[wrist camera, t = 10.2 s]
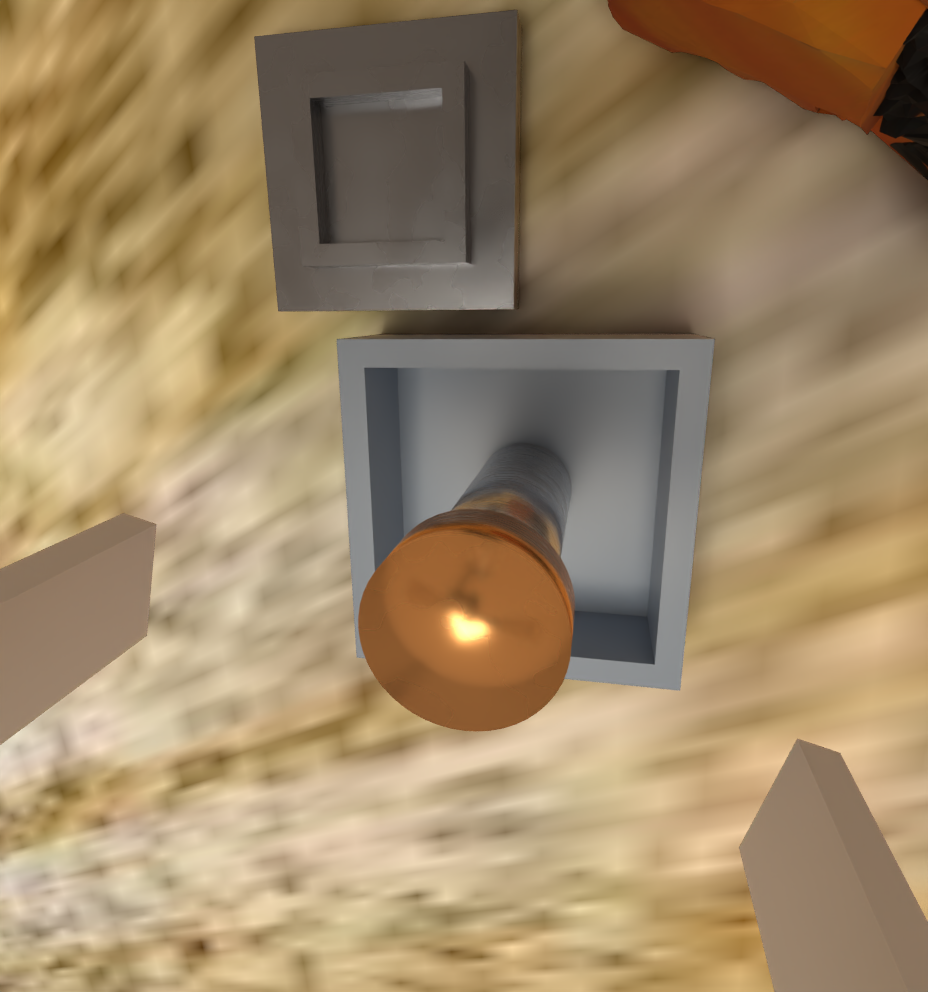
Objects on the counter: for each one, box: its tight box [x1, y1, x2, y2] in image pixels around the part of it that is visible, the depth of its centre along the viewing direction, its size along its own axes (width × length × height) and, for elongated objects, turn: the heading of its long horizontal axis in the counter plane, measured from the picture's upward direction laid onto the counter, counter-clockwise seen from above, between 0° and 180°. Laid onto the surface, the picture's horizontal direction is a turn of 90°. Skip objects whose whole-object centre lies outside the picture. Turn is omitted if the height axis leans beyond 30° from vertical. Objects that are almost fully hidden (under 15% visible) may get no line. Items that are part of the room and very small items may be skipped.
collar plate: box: [254, 10, 522, 311], centre depth 25 cm, size 10×10×2 cm
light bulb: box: [358, 443, 575, 731], centre depth 21 cm, size 5×5×13 cm
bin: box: [337, 334, 715, 690], centre depth 26 cm, size 13×13×5 cm
